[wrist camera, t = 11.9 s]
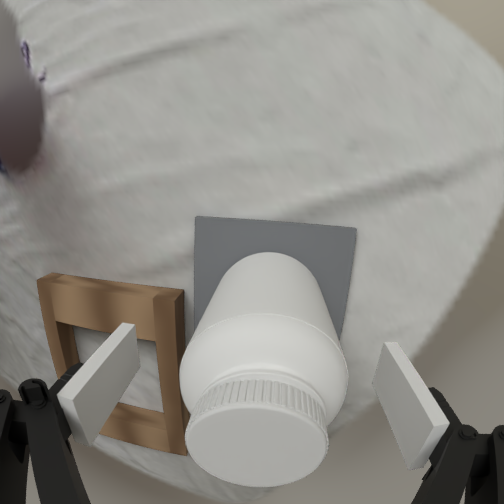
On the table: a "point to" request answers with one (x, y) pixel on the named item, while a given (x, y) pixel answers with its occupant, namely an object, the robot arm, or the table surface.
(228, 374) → the pill bottle
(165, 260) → the table surface
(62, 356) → the pocket board
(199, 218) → the mat
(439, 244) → the table surface
